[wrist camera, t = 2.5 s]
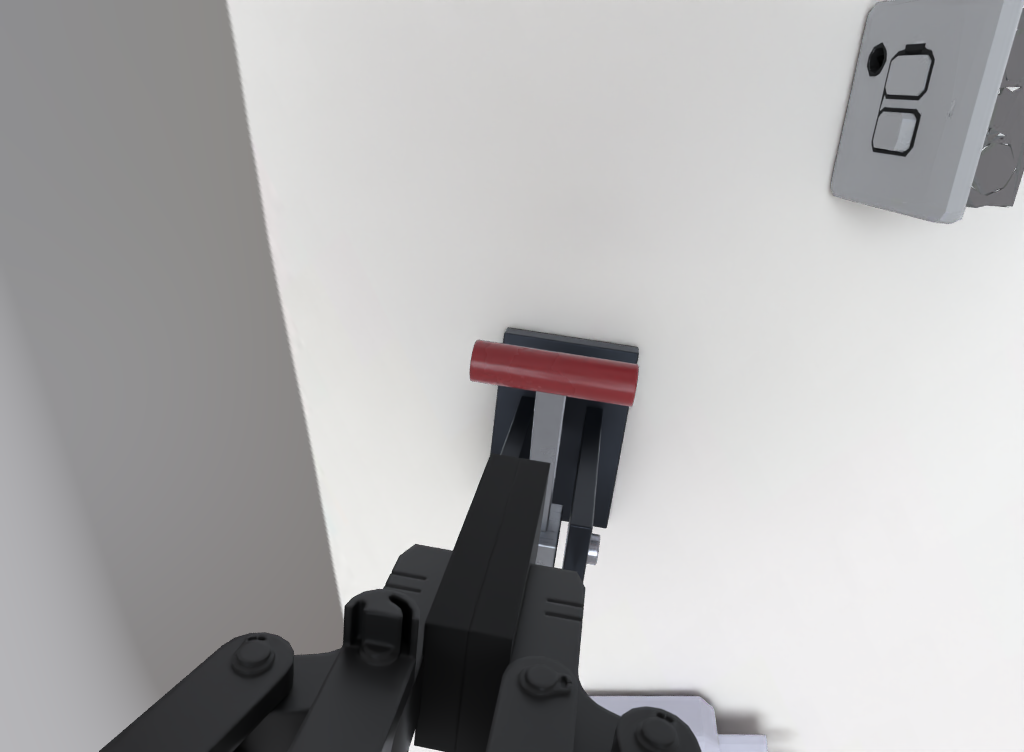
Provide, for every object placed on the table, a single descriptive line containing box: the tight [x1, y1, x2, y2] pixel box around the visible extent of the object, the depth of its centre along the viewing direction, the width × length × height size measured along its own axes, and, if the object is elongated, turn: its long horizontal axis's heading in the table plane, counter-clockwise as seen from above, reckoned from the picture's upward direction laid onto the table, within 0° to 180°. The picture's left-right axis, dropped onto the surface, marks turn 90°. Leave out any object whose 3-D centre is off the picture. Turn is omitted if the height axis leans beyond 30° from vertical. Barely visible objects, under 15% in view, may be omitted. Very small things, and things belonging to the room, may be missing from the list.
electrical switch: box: [831, 0, 1024, 224], centre depth 35 cm, size 9×5×9 cm, turn 175°
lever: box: [470, 340, 639, 567], centre depth 32 cm, size 13×6×2 cm, turn 173°
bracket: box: [490, 328, 639, 583], centre depth 41 cm, size 12×8×15 cm, turn 173°
